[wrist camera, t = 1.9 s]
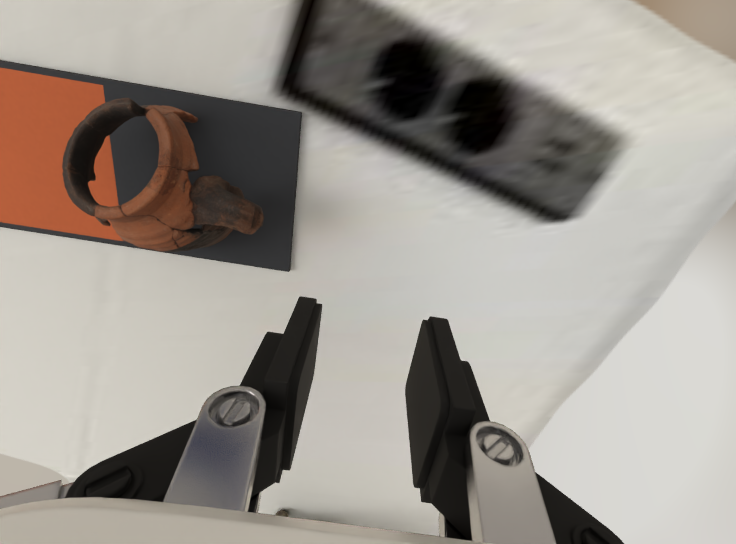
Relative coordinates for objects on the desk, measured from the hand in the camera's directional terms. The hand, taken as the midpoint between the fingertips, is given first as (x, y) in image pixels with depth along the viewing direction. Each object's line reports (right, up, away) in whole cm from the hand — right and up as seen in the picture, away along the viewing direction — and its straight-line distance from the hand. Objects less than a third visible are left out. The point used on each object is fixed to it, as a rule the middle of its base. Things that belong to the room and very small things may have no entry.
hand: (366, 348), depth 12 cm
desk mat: (-18, +10, +15) cm, 26 cm away
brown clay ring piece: (-12, +9, +15) cm, 21 cm away
